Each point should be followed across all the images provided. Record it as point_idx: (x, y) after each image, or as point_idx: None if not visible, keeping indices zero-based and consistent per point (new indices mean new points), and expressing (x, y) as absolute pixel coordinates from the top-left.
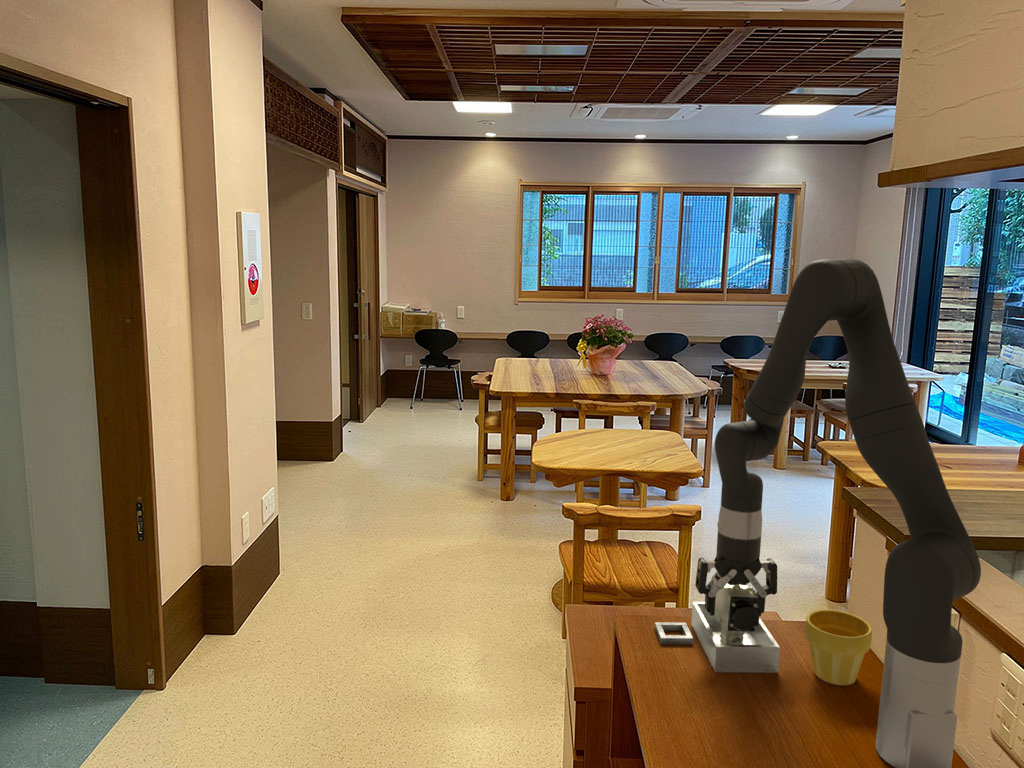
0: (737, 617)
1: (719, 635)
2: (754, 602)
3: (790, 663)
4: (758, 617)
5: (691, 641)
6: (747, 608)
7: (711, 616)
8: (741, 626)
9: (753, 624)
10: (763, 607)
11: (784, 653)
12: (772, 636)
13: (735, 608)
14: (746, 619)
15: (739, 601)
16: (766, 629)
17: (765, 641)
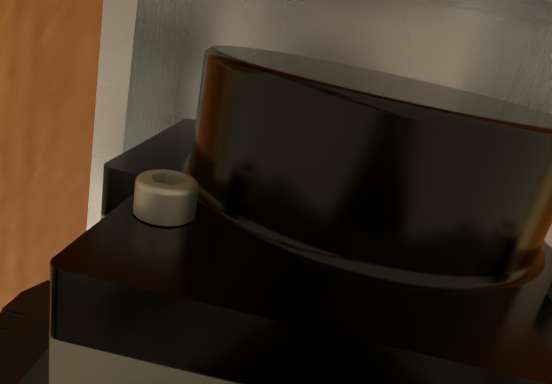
0: (516, 108)
1: None
2: (155, 239)
3: (68, 7)
4: (161, 140)
5: None
6: (401, 101)
7: None
8: (414, 80)
9: (277, 53)
10: (12, 314)
11: (58, 111)
12: (99, 57)
13: (549, 225)
14: (374, 76)
15: (484, 321)
16: (100, 166)
17: (151, 109)
